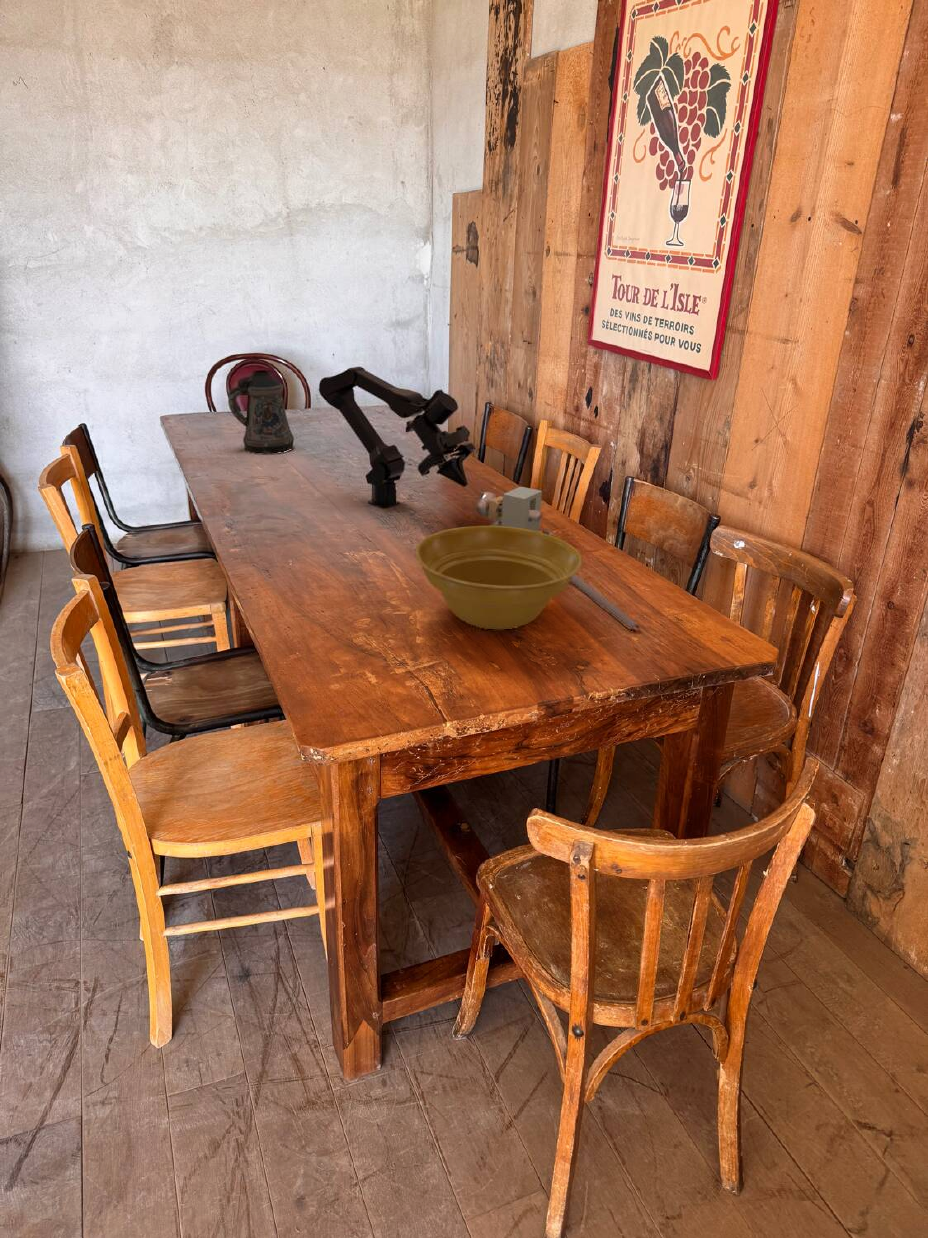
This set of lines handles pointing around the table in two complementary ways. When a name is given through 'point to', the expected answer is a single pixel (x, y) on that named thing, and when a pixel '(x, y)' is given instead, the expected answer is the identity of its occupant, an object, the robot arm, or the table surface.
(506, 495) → the bearing block
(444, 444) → the robot arm
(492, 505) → the spacer collar
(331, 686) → the table surface
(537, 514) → the shaft
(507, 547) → the planter bowl
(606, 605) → the metal rod
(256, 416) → the beer stein
